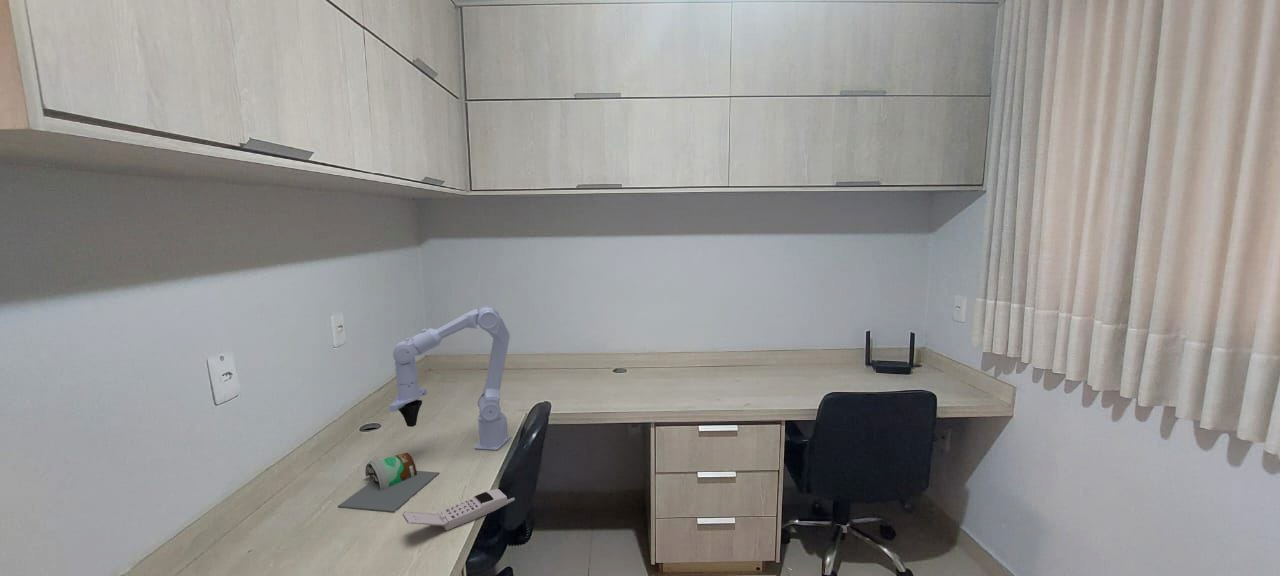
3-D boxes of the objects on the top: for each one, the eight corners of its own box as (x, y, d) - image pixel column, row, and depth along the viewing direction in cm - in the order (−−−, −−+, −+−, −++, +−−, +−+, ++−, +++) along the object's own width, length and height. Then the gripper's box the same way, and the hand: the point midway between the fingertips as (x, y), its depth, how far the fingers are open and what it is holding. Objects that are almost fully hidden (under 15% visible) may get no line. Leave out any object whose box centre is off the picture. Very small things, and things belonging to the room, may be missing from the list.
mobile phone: (400, 511, 113) (504, 472, 128) (403, 535, 113) (505, 493, 129) (408, 523, 108) (514, 481, 124) (411, 548, 109) (516, 503, 125)
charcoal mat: (389, 470, 144) (389, 468, 144) (439, 473, 141) (439, 472, 141) (338, 507, 125) (337, 505, 125) (394, 512, 122) (394, 511, 122)
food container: (417, 455, 138) (379, 469, 131) (419, 476, 139) (381, 491, 131) (399, 443, 146) (362, 455, 139) (401, 462, 147) (365, 476, 140)
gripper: (410, 374, 155) (414, 415, 157) (378, 389, 141) (383, 435, 143) (431, 374, 154) (435, 416, 155) (400, 390, 139) (405, 436, 141)
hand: (411, 425), depth 149 cm, fingers closed
